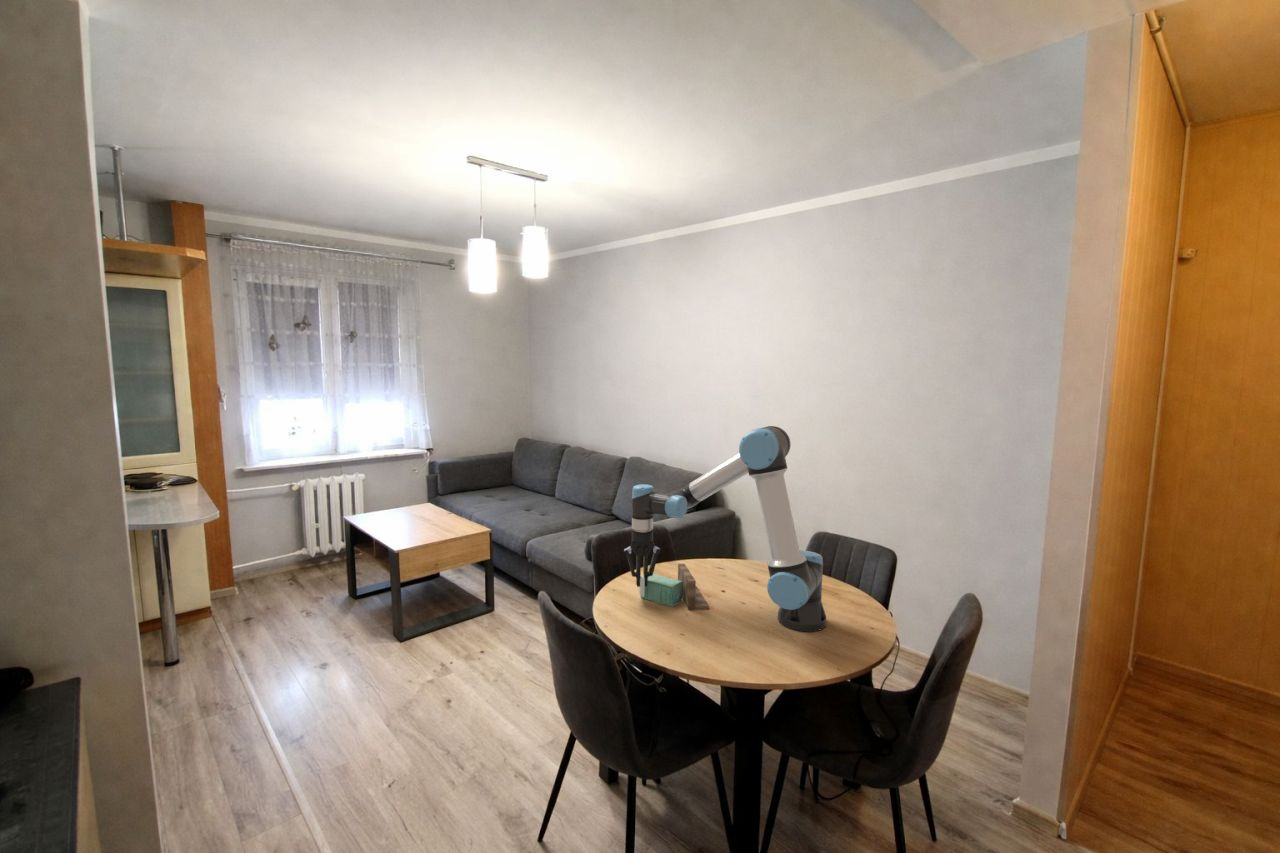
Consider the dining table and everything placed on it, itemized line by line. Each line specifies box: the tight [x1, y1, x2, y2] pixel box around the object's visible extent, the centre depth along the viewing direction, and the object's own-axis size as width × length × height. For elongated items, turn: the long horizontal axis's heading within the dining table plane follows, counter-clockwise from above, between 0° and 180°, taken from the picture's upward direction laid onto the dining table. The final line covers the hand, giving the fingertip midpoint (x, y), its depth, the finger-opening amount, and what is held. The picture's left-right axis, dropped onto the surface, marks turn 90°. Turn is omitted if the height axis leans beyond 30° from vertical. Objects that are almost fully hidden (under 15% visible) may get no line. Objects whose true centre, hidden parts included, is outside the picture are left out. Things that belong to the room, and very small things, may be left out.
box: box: [640, 573, 683, 607], centre depth 196 cm, size 7×14×8 cm, turn 55°
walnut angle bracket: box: [677, 563, 710, 611], centre depth 196 cm, size 18×7×10 cm, turn 8°
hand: (641, 595), depth 194 cm, fingers closed
